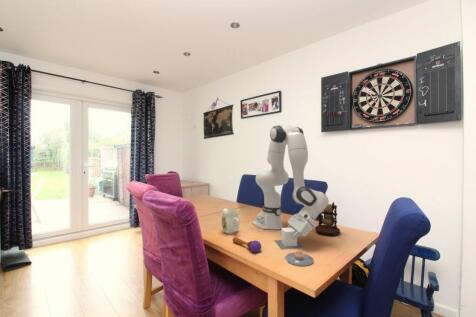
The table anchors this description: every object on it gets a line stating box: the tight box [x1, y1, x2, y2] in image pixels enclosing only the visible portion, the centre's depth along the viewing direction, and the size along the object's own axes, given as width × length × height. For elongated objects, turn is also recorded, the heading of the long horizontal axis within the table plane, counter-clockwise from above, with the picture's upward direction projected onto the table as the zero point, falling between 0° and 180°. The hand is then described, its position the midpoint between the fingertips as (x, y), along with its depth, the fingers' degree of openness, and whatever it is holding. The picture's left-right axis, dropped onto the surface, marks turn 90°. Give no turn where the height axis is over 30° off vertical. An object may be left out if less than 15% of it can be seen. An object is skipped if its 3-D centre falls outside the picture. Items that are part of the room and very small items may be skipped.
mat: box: [274, 239, 306, 250], centre depth 128 cm, size 13×13×1 cm
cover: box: [280, 227, 298, 247], centre depth 128 cm, size 7×7×8 cm
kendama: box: [232, 236, 262, 254], centre depth 124 cm, size 6×6×20 cm
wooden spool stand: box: [314, 201, 341, 237], centre depth 147 cm, size 15×15×20 cm
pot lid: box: [284, 251, 315, 267], centre depth 110 cm, size 13×13×3 cm
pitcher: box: [221, 208, 240, 235], centre depth 148 cm, size 11×18×14 cm, turn 33°
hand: (289, 235), depth 127 cm, fingers open, 8 cm apart
